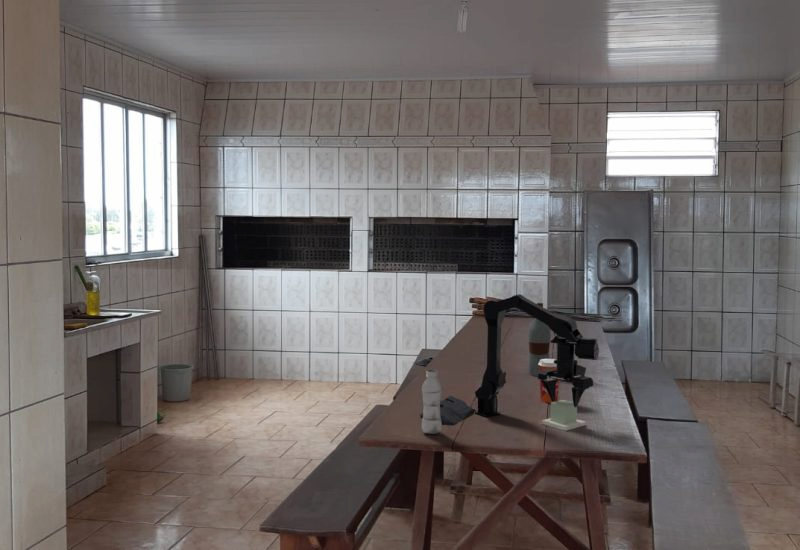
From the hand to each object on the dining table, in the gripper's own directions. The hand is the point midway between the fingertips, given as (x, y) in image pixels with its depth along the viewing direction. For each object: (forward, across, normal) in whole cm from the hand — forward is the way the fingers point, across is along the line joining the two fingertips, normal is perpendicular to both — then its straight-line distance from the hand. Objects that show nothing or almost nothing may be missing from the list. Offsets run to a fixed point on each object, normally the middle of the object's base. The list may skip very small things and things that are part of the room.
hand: (564, 404), depth 267 cm
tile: (+7, 0, 0) cm, 7 cm away
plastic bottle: (+7, +20, +40) cm, 45 cm away
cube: (+6, 0, 0) cm, 6 cm away
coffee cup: (+7, +23, -20) cm, 31 cm away
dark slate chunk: (+8, +33, +22) cm, 40 cm away
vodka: (+7, +55, -51) cm, 75 cm away
